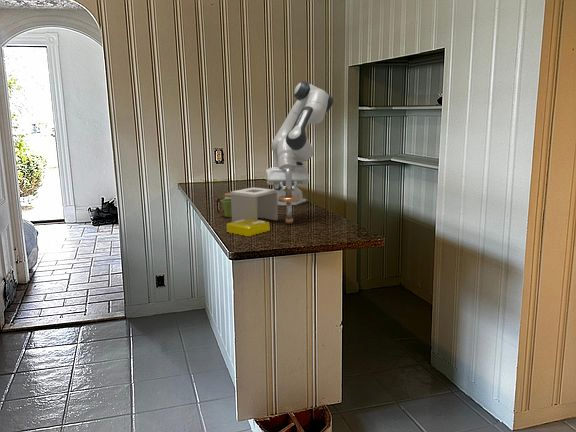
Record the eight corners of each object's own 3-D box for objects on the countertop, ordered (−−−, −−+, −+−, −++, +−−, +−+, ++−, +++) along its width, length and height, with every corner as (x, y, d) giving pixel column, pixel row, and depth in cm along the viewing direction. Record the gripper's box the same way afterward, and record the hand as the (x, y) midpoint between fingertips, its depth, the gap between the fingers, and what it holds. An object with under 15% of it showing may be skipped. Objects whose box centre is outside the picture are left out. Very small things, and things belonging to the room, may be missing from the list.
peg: (287, 219, 258) (286, 167, 252) (303, 222, 252) (303, 168, 246) (274, 223, 250) (273, 169, 245) (290, 225, 244) (290, 170, 239)
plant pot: (222, 218, 263) (222, 202, 261) (220, 215, 272) (219, 198, 270) (241, 217, 266) (240, 200, 264) (237, 214, 274) (237, 197, 273)
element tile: (248, 226, 246) (247, 217, 245) (271, 231, 237) (271, 221, 236) (224, 233, 235) (224, 222, 234) (248, 237, 226) (248, 227, 225)
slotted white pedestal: (254, 216, 268) (253, 187, 265) (277, 219, 258) (277, 190, 255) (231, 221, 256) (230, 191, 253) (256, 226, 246) (255, 194, 243)
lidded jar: (240, 209, 287) (240, 192, 285) (222, 208, 289) (221, 192, 287) (246, 205, 297) (245, 189, 295) (228, 205, 299) (227, 189, 297)
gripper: (265, 163, 251) (266, 186, 244) (308, 162, 253) (310, 185, 245) (265, 171, 257) (266, 194, 249) (307, 170, 258) (309, 193, 250)
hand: (288, 190), depth 247 cm, fingers closed on peg, 3 cm apart
